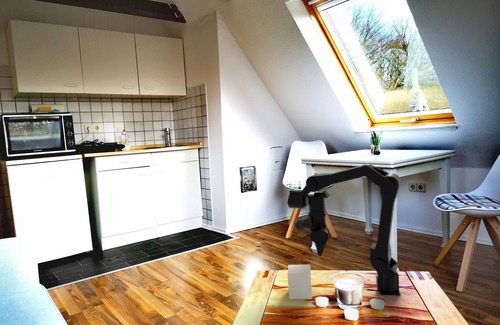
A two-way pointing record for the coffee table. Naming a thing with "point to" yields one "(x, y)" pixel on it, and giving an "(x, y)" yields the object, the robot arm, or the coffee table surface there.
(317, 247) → the robot arm
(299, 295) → the white upright block
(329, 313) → the coffee table surface
